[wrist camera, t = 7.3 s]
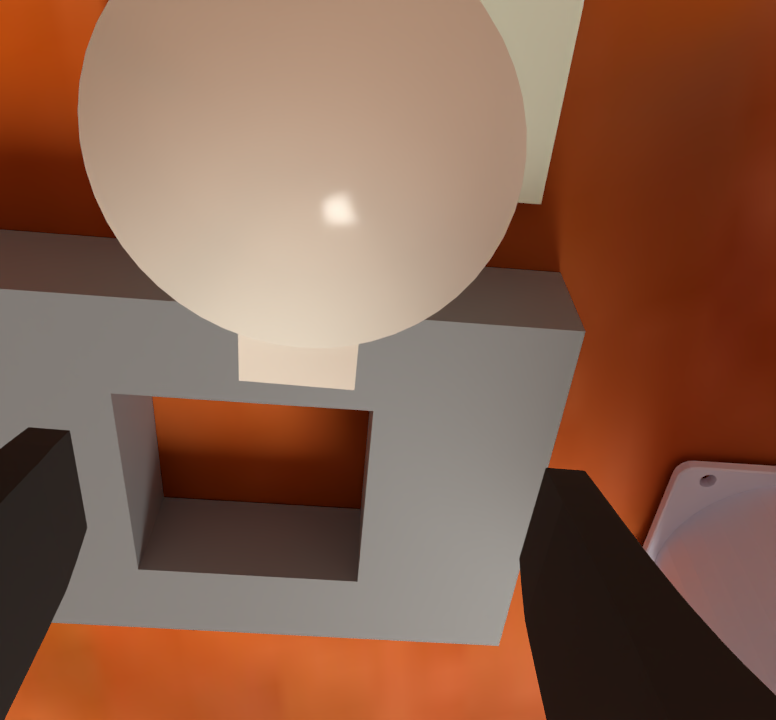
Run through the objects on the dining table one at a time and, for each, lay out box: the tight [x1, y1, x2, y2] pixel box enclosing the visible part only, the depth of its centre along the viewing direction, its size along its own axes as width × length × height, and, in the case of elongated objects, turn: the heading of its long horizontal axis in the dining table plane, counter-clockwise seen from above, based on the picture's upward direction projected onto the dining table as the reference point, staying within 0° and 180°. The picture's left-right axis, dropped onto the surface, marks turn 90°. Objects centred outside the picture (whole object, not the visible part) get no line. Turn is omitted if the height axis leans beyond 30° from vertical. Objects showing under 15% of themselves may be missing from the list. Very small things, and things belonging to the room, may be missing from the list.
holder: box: [0, 229, 585, 646], centre depth 21 cm, size 16×12×3 cm
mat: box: [480, 0, 584, 204], centre depth 16 cm, size 10×8×1 cm
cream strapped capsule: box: [78, 0, 527, 390], centre depth 12 cm, size 7×5×9 cm
